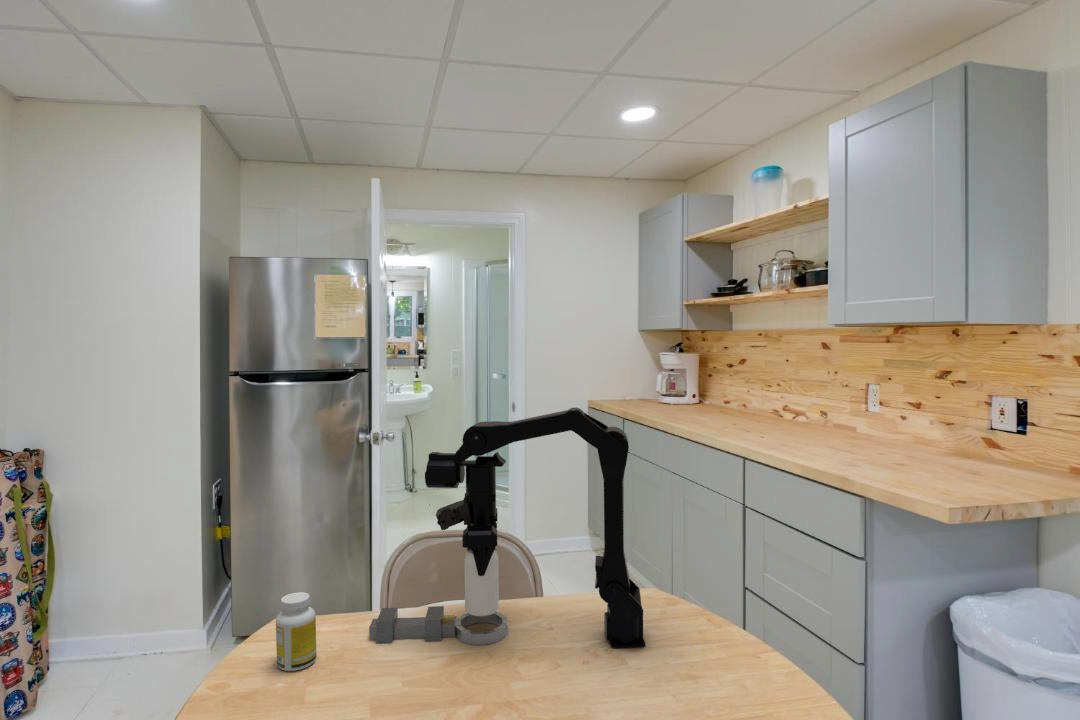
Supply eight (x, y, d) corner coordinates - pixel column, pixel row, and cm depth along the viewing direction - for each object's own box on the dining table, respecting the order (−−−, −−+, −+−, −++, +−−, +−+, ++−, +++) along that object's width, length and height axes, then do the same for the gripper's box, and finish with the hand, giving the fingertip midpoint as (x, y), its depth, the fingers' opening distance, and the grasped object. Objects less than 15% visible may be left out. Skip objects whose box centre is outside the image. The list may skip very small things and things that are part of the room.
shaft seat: (507, 619, 123) (507, 599, 123) (508, 643, 113) (507, 622, 113) (376, 623, 121) (376, 604, 121) (365, 649, 111) (365, 627, 111)
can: (501, 603, 121) (500, 543, 120) (495, 618, 114) (495, 554, 114) (469, 602, 121) (468, 542, 121) (461, 617, 115) (460, 553, 114)
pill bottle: (324, 658, 108) (323, 593, 108) (296, 676, 102) (294, 608, 102) (297, 650, 111) (296, 587, 111) (268, 667, 105) (267, 601, 105)
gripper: (442, 478, 126) (443, 553, 126) (433, 502, 107) (434, 590, 108) (497, 477, 127) (497, 552, 127) (496, 500, 108) (497, 587, 108)
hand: (481, 569), depth 117 cm, fingers closed on can, 6 cm apart
